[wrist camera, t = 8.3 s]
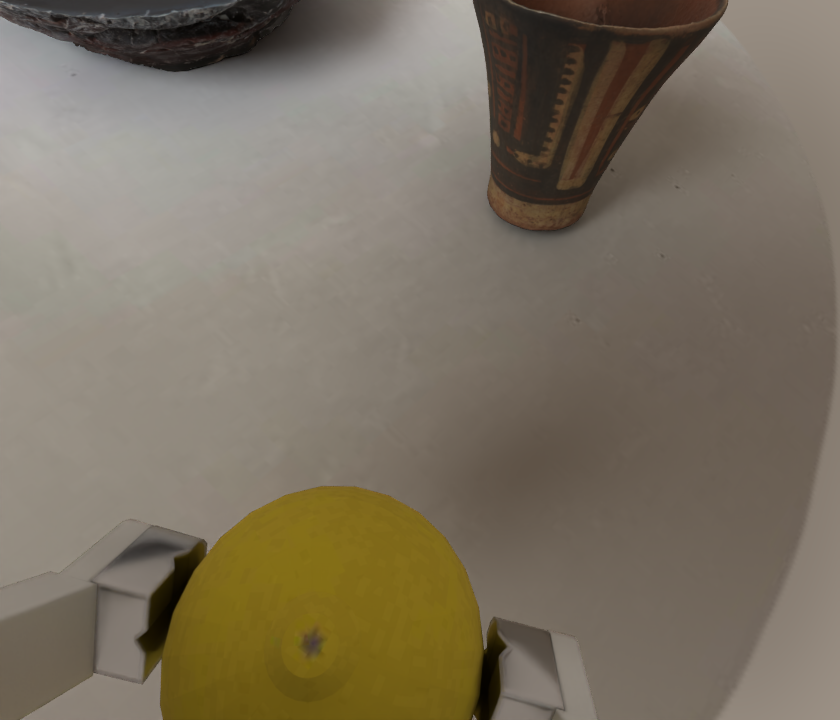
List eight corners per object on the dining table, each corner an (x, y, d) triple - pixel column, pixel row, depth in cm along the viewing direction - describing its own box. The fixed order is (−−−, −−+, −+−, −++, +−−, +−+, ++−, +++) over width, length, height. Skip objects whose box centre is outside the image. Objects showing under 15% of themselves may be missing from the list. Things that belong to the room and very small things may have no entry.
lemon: (441, 788, 12) (543, 1028, 5) (204, 760, 11) (-63, 955, 4) (458, 541, 14) (538, 452, 7) (267, 516, 14) (161, 401, 7)
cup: (523, 110, 28) (591, -121, 20) (644, 204, 25) (786, -18, 17) (402, 168, 25) (418, -77, 16) (523, 284, 22) (621, 60, 14)
